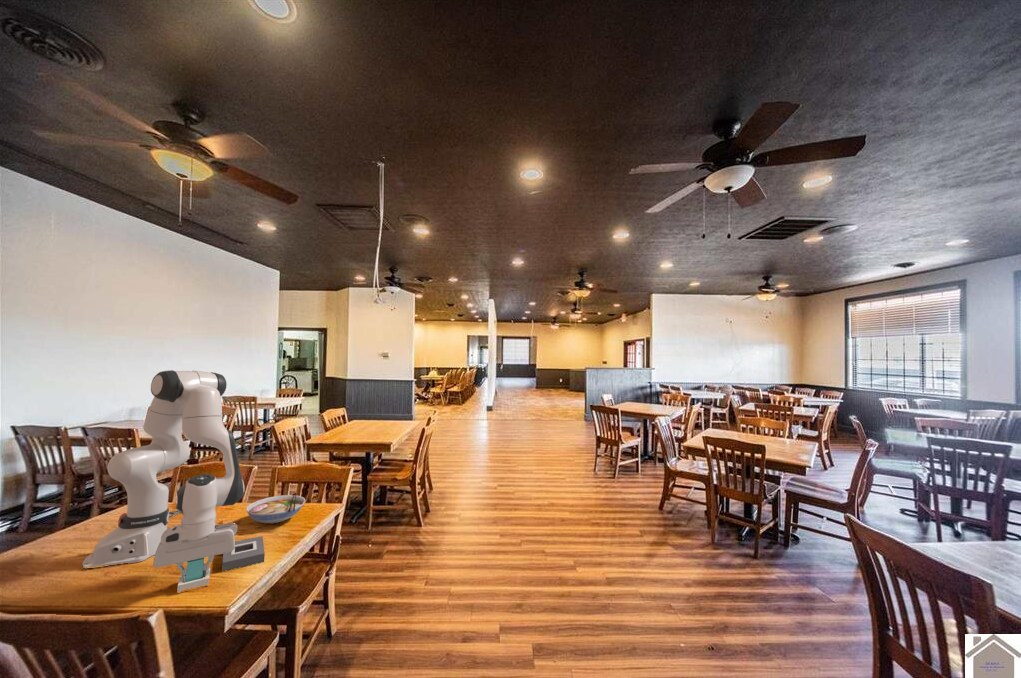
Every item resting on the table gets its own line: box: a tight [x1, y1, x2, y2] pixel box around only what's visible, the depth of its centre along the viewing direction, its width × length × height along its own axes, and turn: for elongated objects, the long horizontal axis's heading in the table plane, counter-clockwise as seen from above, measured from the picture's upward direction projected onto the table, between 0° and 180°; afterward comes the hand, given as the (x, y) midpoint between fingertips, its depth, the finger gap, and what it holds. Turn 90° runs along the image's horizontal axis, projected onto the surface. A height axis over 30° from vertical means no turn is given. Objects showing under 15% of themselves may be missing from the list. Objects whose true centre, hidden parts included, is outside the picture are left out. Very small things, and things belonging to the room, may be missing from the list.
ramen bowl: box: [245, 492, 306, 525], centre depth 170 cm, size 25×23×8 cm
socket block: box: [221, 535, 266, 572], centre depth 139 cm, size 12×16×3 cm
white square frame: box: [176, 567, 211, 594], centre depth 122 cm, size 8×8×2 cm
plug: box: [186, 558, 205, 582], centre depth 122 cm, size 4×4×8 cm
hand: (194, 572), depth 122 cm, fingers closed on plug, 4 cm apart
